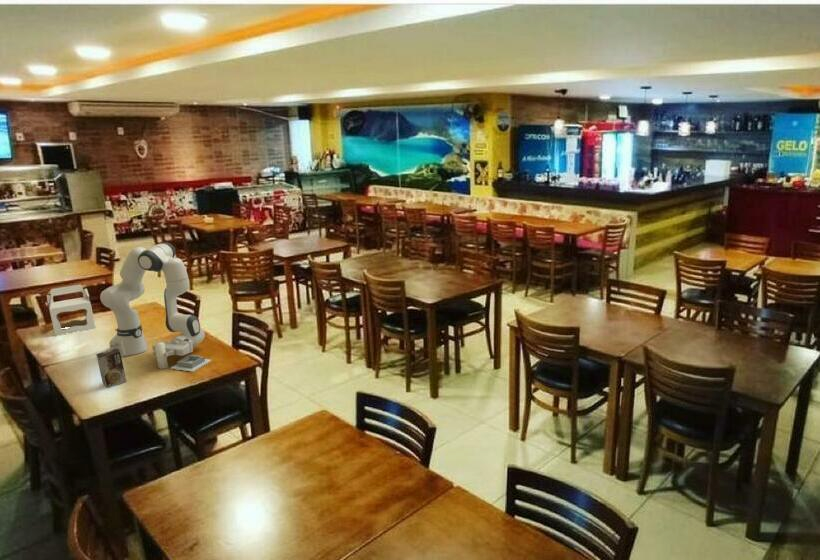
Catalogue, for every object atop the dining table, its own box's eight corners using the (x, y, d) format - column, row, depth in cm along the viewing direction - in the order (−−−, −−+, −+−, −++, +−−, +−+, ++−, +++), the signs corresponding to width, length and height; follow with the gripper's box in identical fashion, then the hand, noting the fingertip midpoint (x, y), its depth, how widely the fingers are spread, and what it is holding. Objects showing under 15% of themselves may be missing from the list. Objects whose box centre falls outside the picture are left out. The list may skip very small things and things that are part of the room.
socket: (171, 369, 283) (169, 363, 282) (190, 358, 295) (189, 352, 294) (192, 372, 278) (191, 366, 277) (211, 361, 290) (211, 355, 289)
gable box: (94, 322, 360) (85, 281, 352) (96, 328, 349) (87, 285, 342) (54, 330, 348) (44, 287, 341) (54, 336, 338) (44, 292, 330)
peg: (156, 368, 284) (152, 344, 281) (163, 364, 289) (159, 341, 285) (163, 369, 283) (159, 345, 279) (170, 365, 287) (166, 342, 283)
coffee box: (122, 378, 275) (116, 347, 270) (126, 382, 270) (120, 351, 266) (102, 384, 268) (95, 353, 264) (106, 388, 264) (100, 357, 260)
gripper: (163, 336, 298) (143, 346, 286) (193, 340, 291) (174, 350, 278) (165, 347, 300) (145, 357, 287) (195, 351, 293) (176, 362, 280)
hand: (159, 354), depth 283 cm, fingers open, 6 cm apart
